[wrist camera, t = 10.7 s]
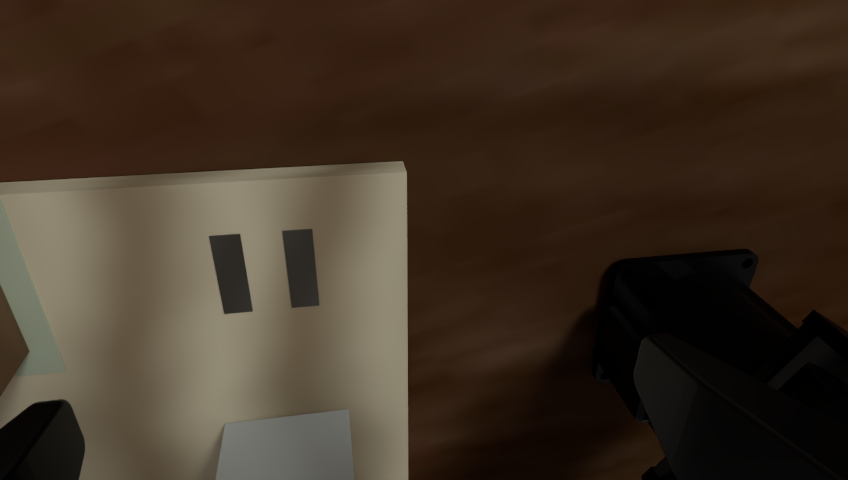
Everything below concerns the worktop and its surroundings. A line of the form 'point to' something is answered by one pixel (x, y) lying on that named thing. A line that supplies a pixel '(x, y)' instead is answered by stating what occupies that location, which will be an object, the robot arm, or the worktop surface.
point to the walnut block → (9, 344)
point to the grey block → (288, 448)
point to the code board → (211, 310)
